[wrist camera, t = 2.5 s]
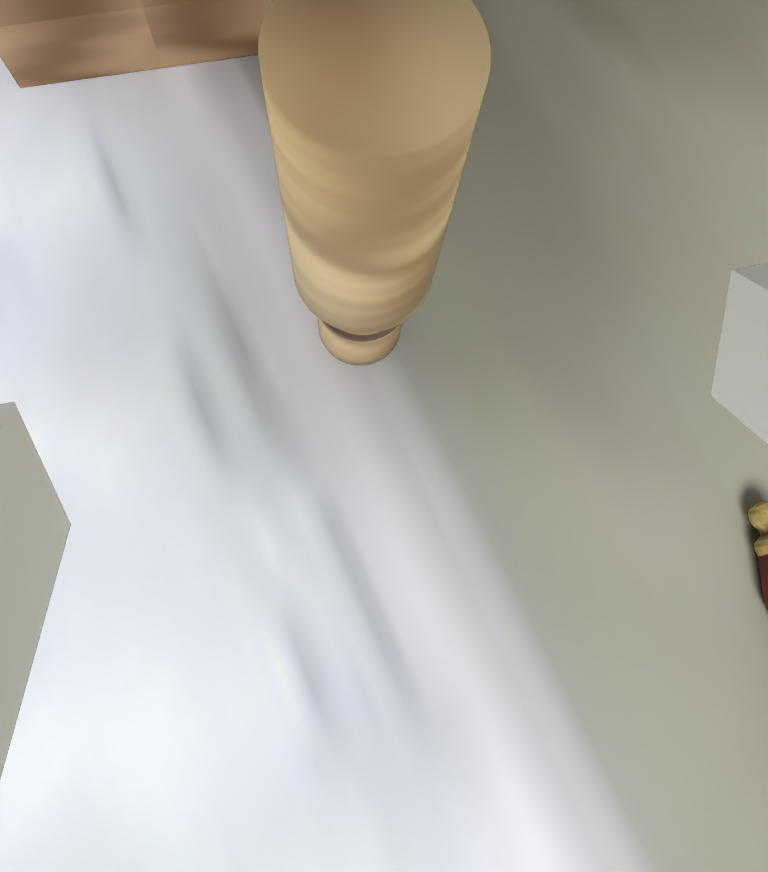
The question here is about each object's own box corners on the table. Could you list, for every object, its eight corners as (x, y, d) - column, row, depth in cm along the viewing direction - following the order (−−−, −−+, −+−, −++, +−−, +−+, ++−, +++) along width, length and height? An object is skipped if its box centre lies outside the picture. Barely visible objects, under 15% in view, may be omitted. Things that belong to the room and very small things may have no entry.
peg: (403, 265, 27) (462, -62, 14) (427, 369, 26) (515, 134, 13) (293, 283, 27) (239, -33, 13) (314, 390, 26) (280, 171, 12)
